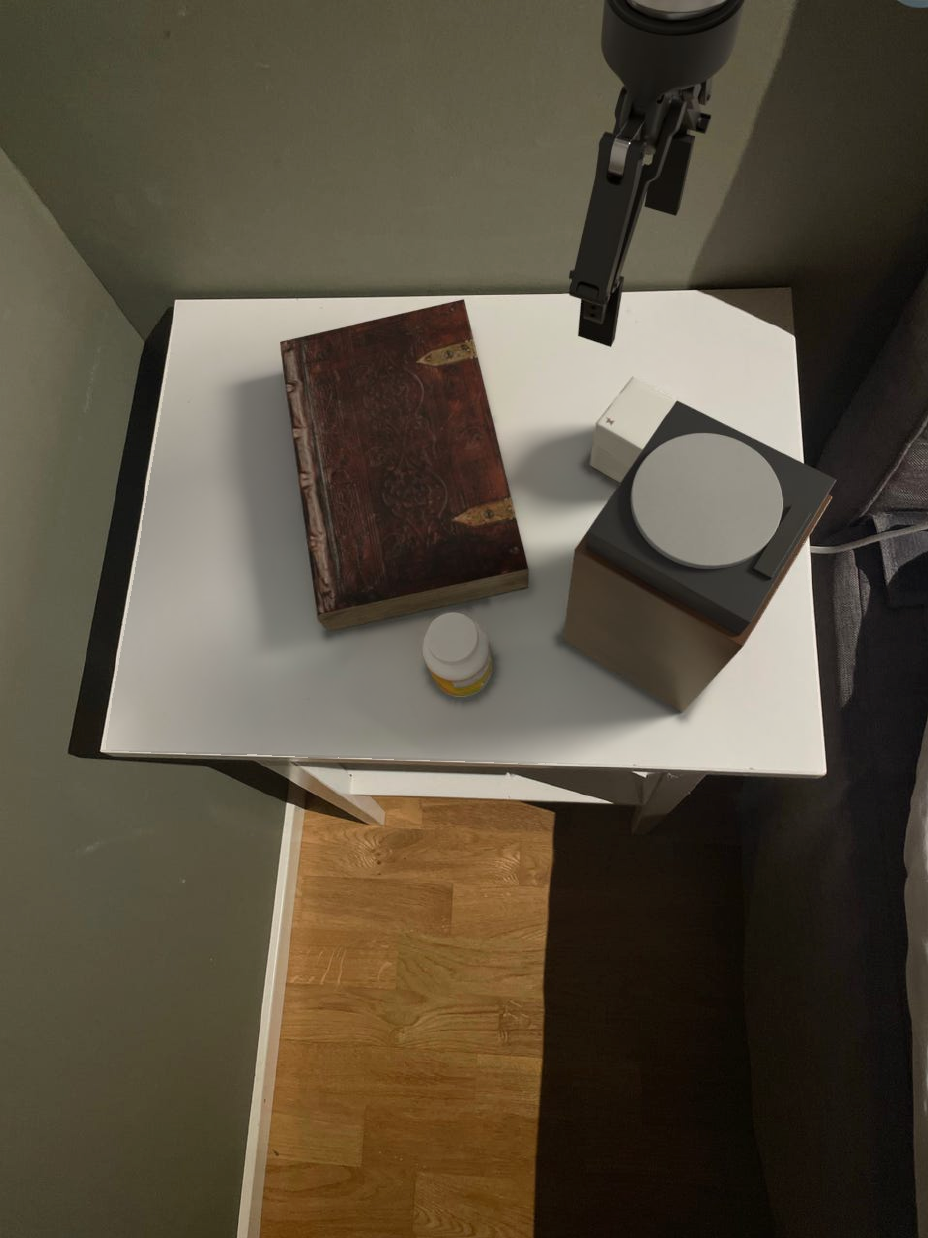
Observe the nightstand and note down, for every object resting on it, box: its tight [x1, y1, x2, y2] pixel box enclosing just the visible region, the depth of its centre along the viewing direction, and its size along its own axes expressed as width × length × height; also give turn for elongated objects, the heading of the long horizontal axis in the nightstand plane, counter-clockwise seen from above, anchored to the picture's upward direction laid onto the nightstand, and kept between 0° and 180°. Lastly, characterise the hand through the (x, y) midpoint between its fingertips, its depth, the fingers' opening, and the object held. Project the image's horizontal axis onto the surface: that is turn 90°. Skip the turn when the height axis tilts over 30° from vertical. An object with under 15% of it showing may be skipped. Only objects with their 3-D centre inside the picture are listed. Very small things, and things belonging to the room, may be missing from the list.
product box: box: [589, 375, 678, 484], centre depth 71 cm, size 6×6×7 cm
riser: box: [562, 416, 833, 713], centre depth 60 cm, size 12×12×20 cm
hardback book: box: [279, 298, 530, 632], centre depth 73 cm, size 29×19×5 cm, turn 11°
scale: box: [585, 399, 837, 635], centre depth 49 cm, size 11×11×3 cm
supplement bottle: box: [422, 611, 493, 698], centre depth 64 cm, size 5×5×10 cm
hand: (629, 271), depth 61 cm, fingers open, 13 cm apart
